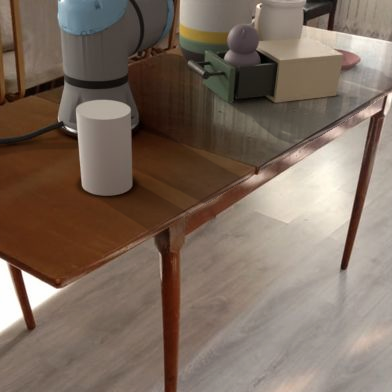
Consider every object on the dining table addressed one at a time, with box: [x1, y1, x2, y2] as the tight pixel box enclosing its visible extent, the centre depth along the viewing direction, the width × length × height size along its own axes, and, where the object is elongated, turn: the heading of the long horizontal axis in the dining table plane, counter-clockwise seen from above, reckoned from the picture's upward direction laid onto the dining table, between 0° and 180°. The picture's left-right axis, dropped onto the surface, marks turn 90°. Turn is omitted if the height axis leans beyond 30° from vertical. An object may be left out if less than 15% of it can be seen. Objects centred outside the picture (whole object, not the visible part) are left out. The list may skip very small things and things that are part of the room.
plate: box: [333, 48, 362, 72], centre depth 155 cm, size 14×14×2 cm
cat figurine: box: [224, 21, 261, 89], centre depth 131 cm, size 8×8×12 cm
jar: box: [257, 0, 307, 41], centre depth 149 cm, size 11×10×15 cm
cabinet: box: [256, 36, 344, 104], centre depth 138 cm, size 16×14×9 cm
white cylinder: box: [76, 100, 133, 197], centre depth 98 cm, size 8×8×12 cm
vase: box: [178, 0, 255, 68], centre depth 145 cm, size 17×17×24 cm
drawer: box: [186, 50, 278, 103], centre depth 133 cm, size 20×12×7 cm, turn 114°
